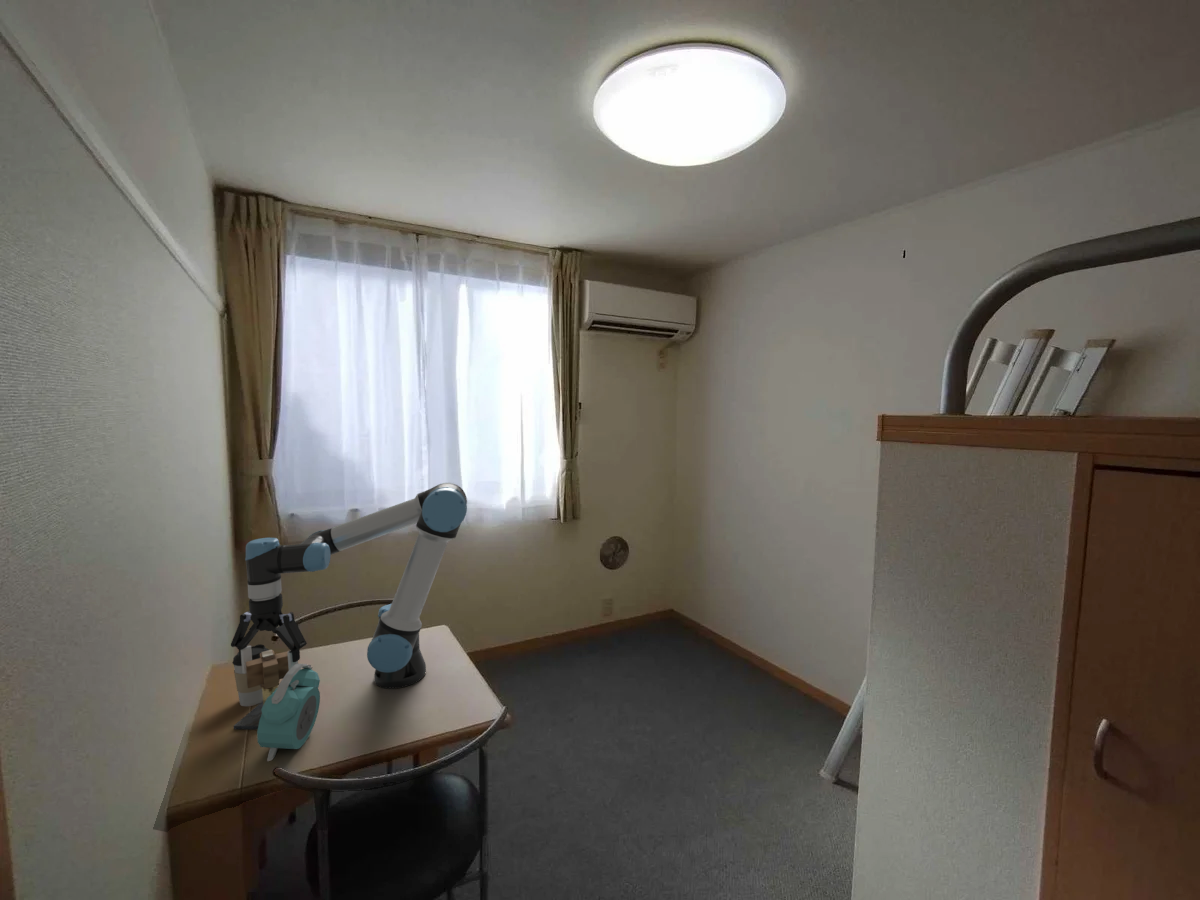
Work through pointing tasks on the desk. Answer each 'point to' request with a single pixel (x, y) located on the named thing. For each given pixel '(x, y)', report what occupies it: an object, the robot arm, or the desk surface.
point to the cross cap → (267, 669)
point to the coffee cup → (246, 694)
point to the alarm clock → (290, 711)
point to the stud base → (254, 713)
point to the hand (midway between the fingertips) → (270, 671)
